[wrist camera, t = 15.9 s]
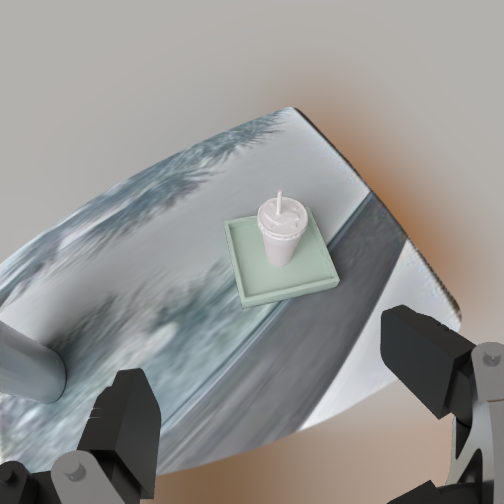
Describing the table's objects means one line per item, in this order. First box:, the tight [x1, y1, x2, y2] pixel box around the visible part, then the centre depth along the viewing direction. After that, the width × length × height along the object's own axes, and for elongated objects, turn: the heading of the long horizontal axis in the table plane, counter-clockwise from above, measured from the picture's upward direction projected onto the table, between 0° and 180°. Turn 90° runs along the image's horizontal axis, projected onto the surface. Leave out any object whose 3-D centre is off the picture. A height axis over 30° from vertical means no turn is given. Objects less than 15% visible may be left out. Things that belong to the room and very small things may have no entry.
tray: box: [224, 206, 340, 309], centre depth 45 cm, size 14×14×2 cm
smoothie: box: [257, 189, 308, 266], centre depth 39 cm, size 6×6×14 cm
